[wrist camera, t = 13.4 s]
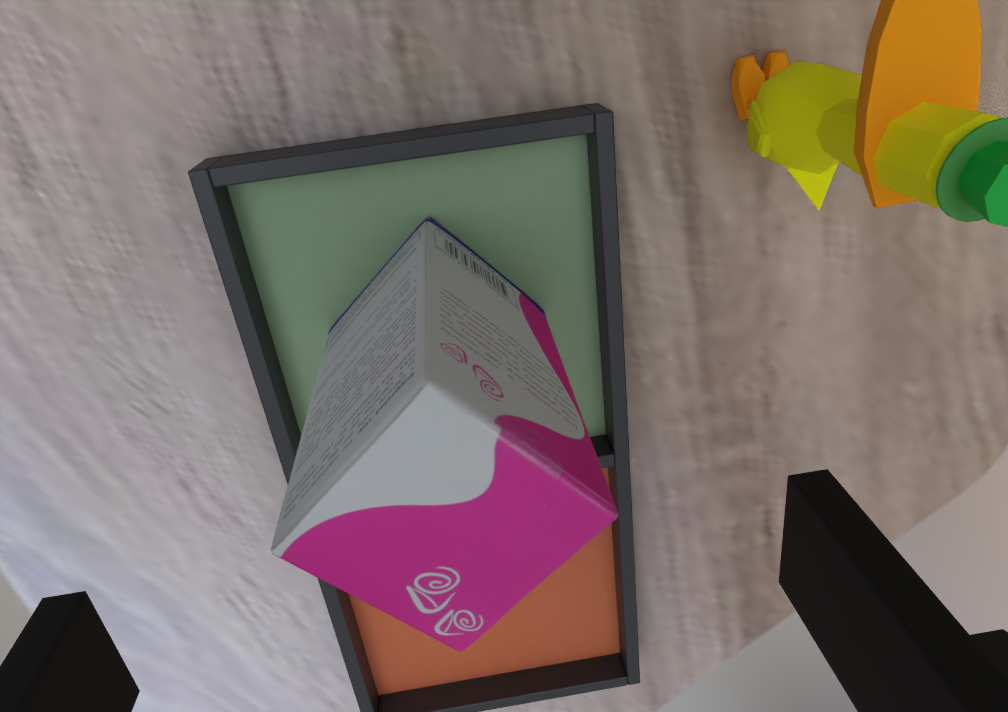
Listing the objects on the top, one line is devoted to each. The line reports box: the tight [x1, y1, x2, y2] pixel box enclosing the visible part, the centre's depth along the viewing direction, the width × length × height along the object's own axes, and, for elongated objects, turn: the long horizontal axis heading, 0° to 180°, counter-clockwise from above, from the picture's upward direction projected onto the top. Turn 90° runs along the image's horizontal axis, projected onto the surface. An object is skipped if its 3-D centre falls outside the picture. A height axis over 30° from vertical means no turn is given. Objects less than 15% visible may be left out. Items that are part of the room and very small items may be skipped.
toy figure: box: [731, 0, 1008, 227], centre depth 18 cm, size 7×4×12 cm, turn 9°
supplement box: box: [271, 216, 618, 652], centre depth 21 cm, size 6×6×12 cm
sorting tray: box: [188, 103, 640, 712], centre depth 28 cm, size 26×13×2 cm, turn 7°
